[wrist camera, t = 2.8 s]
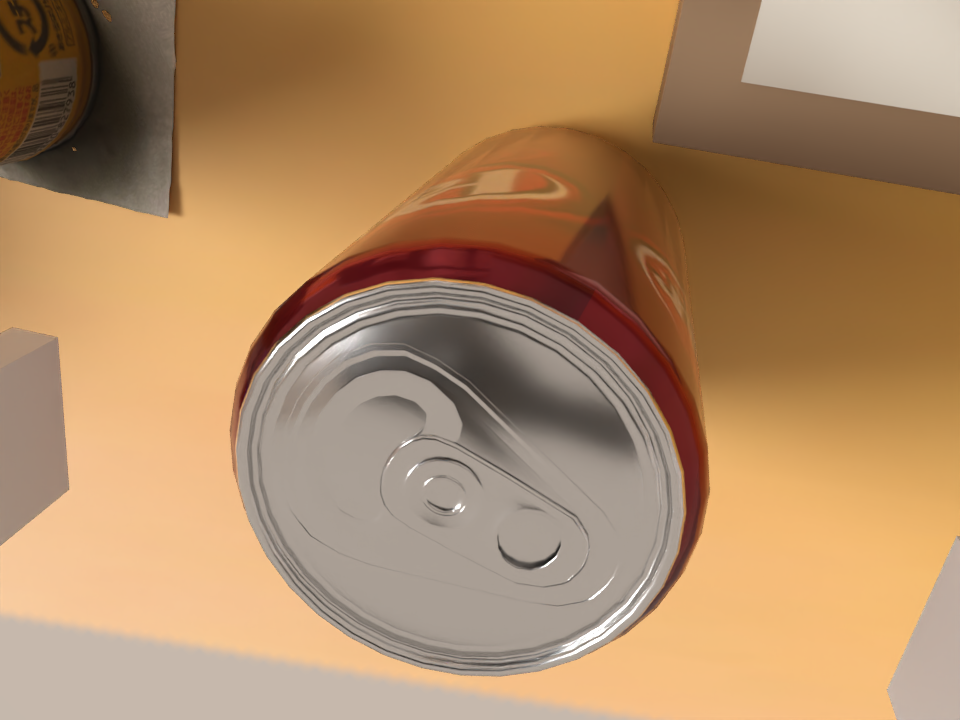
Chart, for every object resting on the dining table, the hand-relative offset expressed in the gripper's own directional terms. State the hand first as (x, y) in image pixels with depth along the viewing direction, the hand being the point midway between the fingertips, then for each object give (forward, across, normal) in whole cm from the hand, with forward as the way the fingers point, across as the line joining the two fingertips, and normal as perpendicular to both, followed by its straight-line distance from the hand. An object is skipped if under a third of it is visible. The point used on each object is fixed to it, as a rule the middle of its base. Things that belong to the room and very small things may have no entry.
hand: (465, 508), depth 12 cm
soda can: (+12, 0, 0) cm, 12 cm away
